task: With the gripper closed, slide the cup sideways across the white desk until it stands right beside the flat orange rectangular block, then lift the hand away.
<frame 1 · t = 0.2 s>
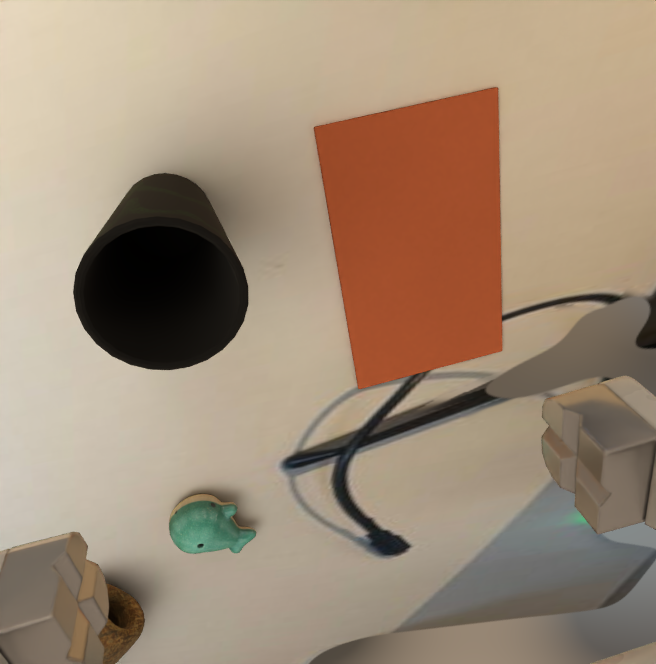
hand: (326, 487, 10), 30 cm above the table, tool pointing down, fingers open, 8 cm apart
cup: (168, 216, 37), on the table
whale figurine: (212, 514, 50), on the table
flat orange rectangular block: (419, 253, 42), on the table
wooden vase: (68, 624, 53), on the table
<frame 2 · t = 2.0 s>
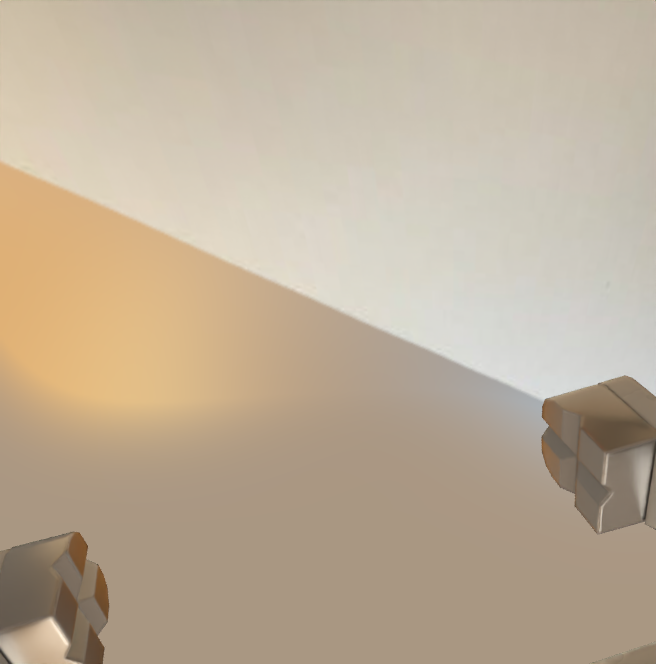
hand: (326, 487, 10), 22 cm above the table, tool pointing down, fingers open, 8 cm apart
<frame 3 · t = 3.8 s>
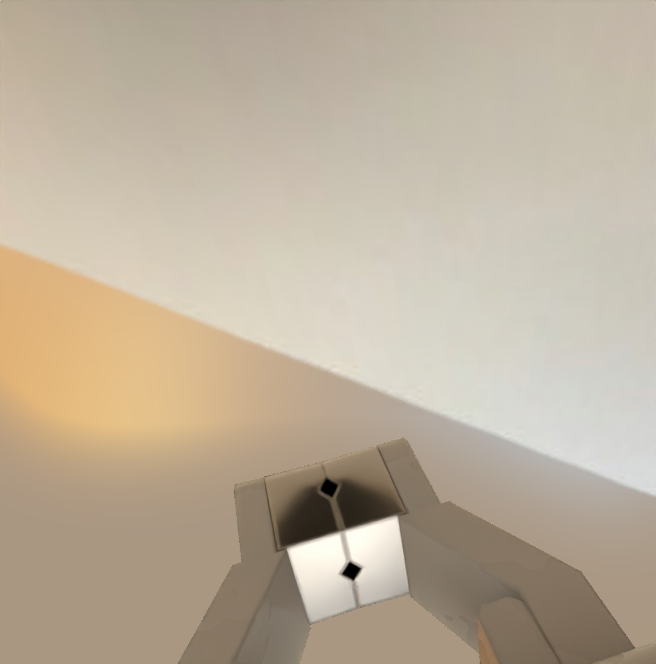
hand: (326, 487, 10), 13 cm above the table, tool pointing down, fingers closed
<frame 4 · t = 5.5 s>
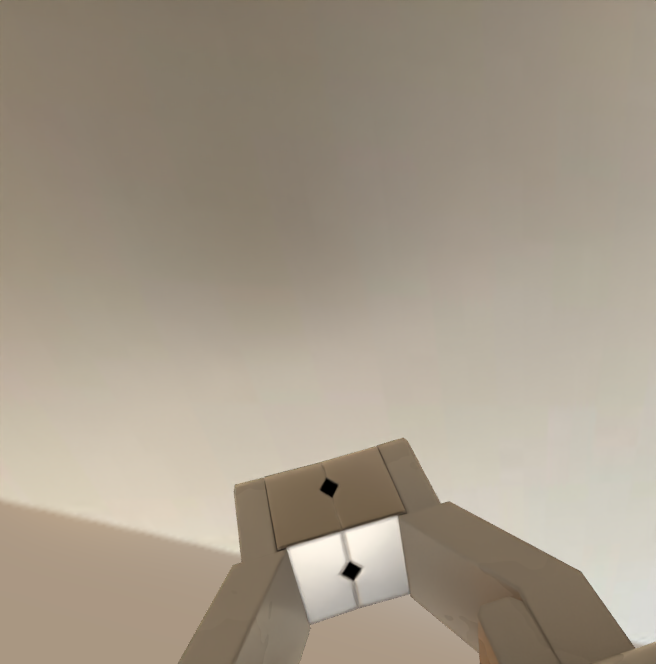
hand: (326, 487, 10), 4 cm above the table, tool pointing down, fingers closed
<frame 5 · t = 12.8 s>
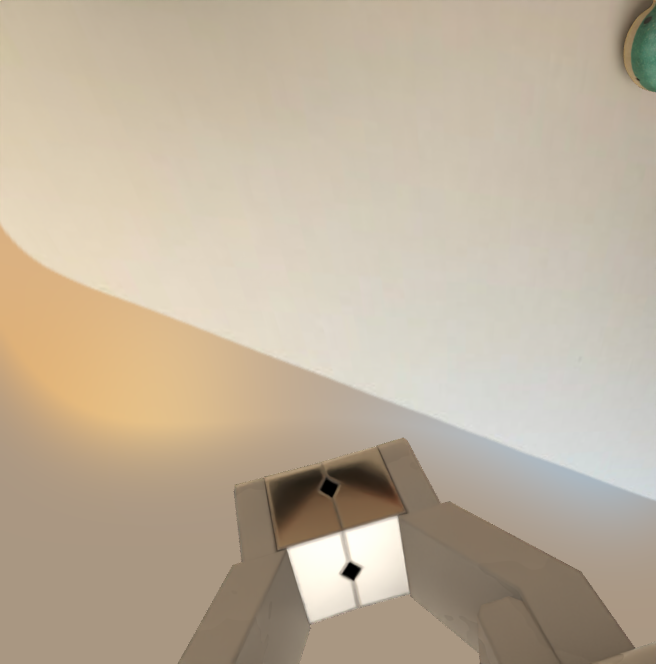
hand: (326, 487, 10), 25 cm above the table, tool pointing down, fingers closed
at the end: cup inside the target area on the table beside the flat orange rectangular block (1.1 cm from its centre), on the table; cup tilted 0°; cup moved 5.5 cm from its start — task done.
